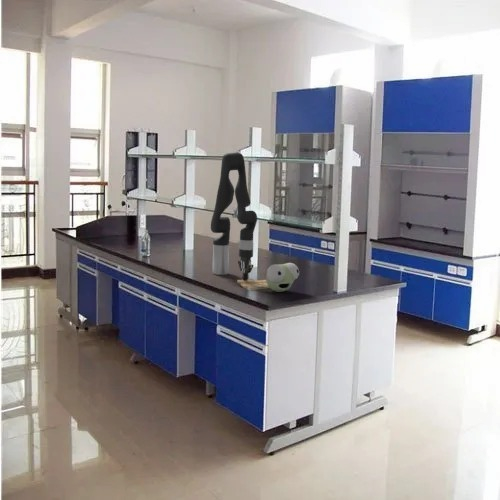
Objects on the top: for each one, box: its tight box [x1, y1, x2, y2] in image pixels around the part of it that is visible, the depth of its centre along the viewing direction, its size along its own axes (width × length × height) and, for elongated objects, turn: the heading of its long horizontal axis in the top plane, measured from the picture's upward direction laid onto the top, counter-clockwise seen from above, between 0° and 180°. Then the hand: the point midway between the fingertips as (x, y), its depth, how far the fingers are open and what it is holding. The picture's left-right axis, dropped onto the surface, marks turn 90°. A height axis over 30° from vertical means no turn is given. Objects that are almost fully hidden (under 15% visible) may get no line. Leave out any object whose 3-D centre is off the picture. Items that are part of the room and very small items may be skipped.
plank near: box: [237, 278, 258, 289], centre depth 317 cm, size 8×8×1 cm
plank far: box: [254, 279, 267, 285], centre depth 323 cm, size 8×8×1 cm
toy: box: [265, 262, 300, 293], centre depth 305 cm, size 18×15×15 cm
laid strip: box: [244, 284, 271, 291], centre depth 314 cm, size 5×18×1 cm, turn 121°
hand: (245, 279), depth 320 cm, fingers closed
